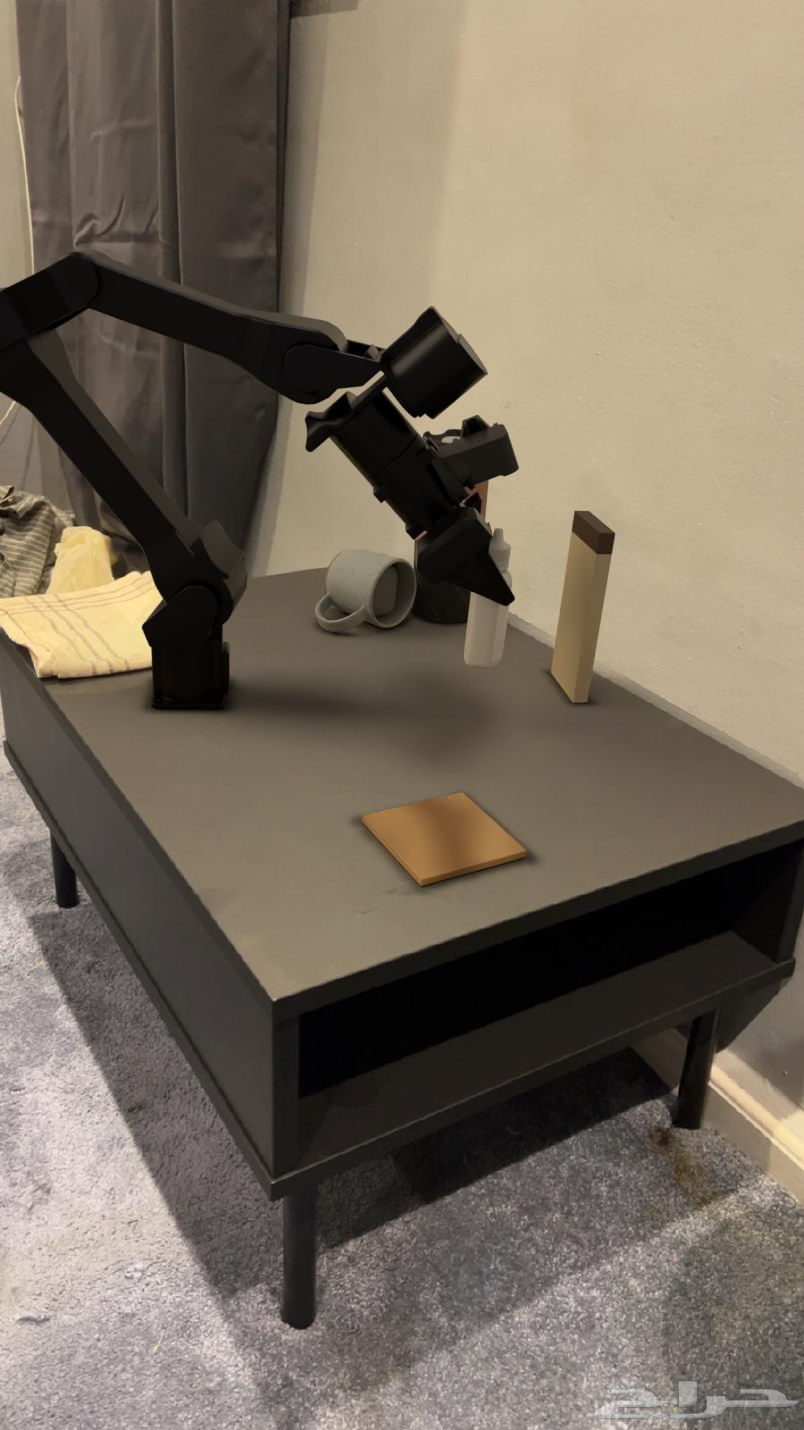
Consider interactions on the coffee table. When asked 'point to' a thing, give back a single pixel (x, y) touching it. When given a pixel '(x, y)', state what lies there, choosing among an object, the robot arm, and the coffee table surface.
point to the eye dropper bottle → (488, 615)
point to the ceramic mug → (367, 590)
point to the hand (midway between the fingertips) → (507, 590)
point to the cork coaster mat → (443, 838)
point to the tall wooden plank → (582, 604)
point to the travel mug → (445, 597)
